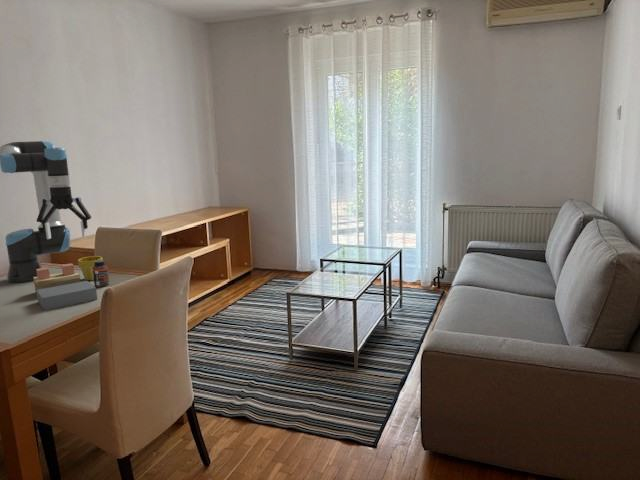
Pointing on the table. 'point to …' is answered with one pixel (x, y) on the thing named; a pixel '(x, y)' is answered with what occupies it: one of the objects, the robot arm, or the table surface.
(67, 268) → the crate
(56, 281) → the beige block
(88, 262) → the plant pot
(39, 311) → the table surface
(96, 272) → the supplement bottle
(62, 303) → the block
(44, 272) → the crate
